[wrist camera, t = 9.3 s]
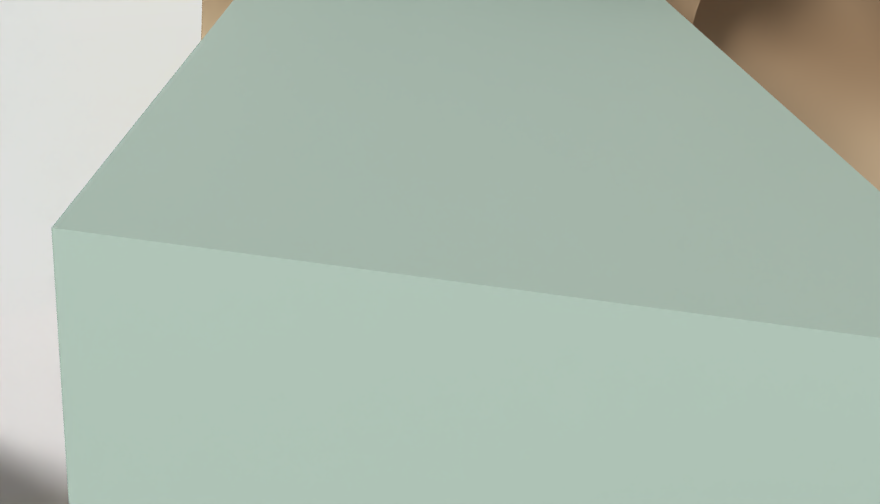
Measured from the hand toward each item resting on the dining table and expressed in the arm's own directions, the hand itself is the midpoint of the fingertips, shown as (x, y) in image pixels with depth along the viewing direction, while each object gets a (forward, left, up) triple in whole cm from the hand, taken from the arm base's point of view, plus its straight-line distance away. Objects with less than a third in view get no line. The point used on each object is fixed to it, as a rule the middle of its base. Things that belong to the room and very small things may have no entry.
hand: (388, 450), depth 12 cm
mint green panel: (0, 0, -5) cm, 5 cm away
